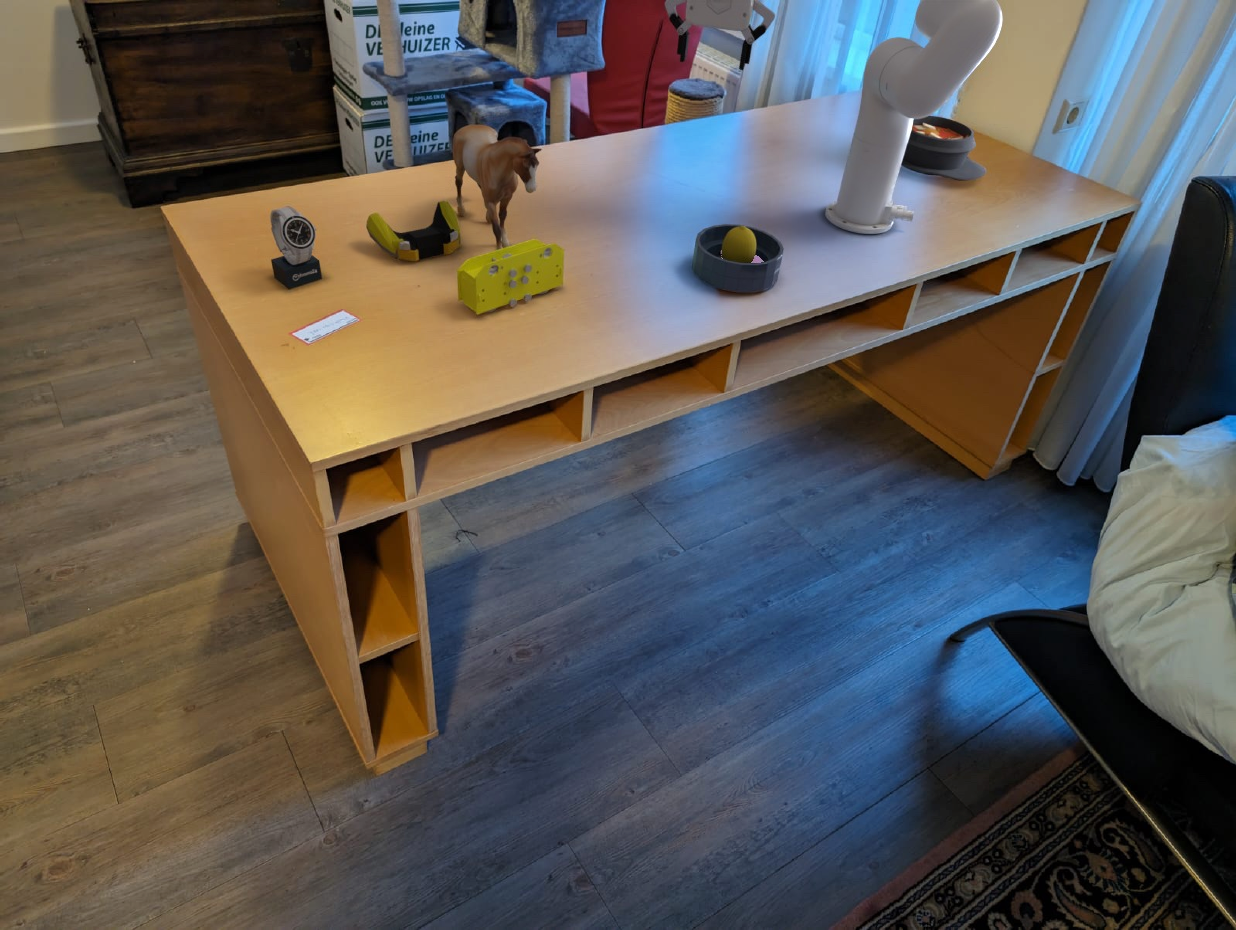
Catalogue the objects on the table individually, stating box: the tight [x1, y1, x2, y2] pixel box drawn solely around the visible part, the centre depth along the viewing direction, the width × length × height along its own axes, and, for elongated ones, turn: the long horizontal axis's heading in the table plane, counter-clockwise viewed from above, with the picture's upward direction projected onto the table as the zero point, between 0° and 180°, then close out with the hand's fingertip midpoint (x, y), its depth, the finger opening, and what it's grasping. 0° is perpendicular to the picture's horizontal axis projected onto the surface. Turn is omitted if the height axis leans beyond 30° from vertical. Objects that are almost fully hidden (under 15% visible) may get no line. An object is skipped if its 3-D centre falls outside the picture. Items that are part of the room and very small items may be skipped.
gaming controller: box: [365, 200, 462, 262], centre depth 142 cm, size 15×6×10 cm
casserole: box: [901, 115, 987, 182], centre depth 187 cm, size 25×19×8 cm
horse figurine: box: [452, 124, 543, 250], centre depth 142 cm, size 31×8×21 cm, turn 23°
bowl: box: [691, 223, 785, 294], centre depth 144 cm, size 14×14×6 cm
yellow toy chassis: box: [456, 238, 565, 315], centre depth 131 cm, size 16×6×8 cm, turn 131°
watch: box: [269, 205, 323, 290], centre depth 130 cm, size 6×8×11 cm
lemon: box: [722, 224, 756, 263], centre depth 142 cm, size 6×6×8 cm
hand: (712, 63), depth 142 cm, fingers open, 9 cm apart
